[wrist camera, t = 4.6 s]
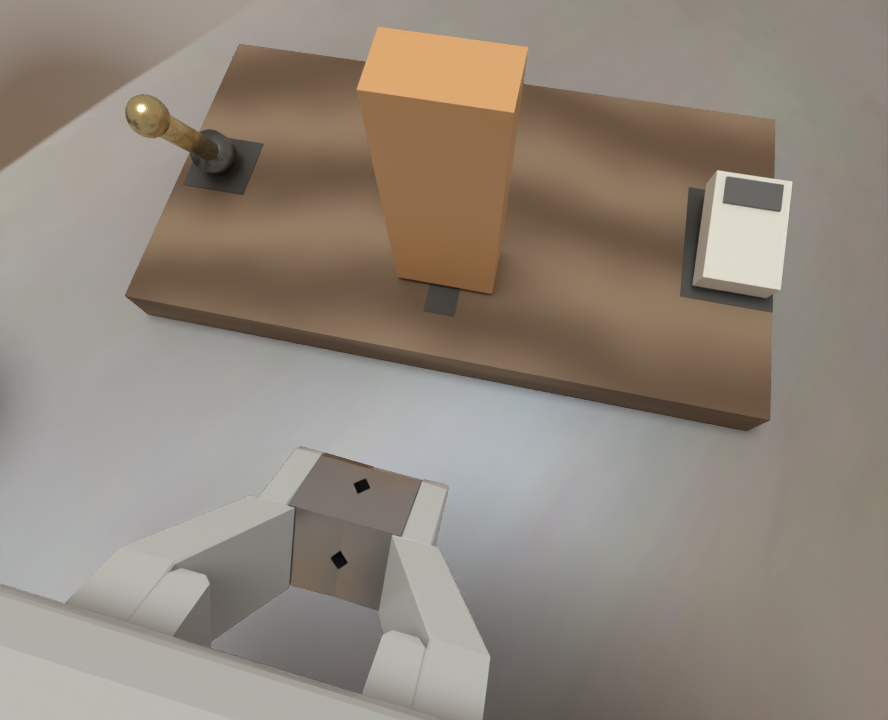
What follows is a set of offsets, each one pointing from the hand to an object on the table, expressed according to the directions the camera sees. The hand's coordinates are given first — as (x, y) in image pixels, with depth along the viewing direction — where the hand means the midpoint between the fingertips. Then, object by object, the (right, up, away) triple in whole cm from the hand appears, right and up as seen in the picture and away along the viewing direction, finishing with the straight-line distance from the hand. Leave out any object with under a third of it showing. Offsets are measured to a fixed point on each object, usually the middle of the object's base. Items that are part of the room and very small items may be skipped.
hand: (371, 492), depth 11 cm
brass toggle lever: (-10, +13, +17) cm, 23 cm away
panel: (+2, +10, +18) cm, 21 cm away
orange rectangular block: (+2, +7, +15) cm, 16 cm away
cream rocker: (+15, +8, +15) cm, 22 cm away
